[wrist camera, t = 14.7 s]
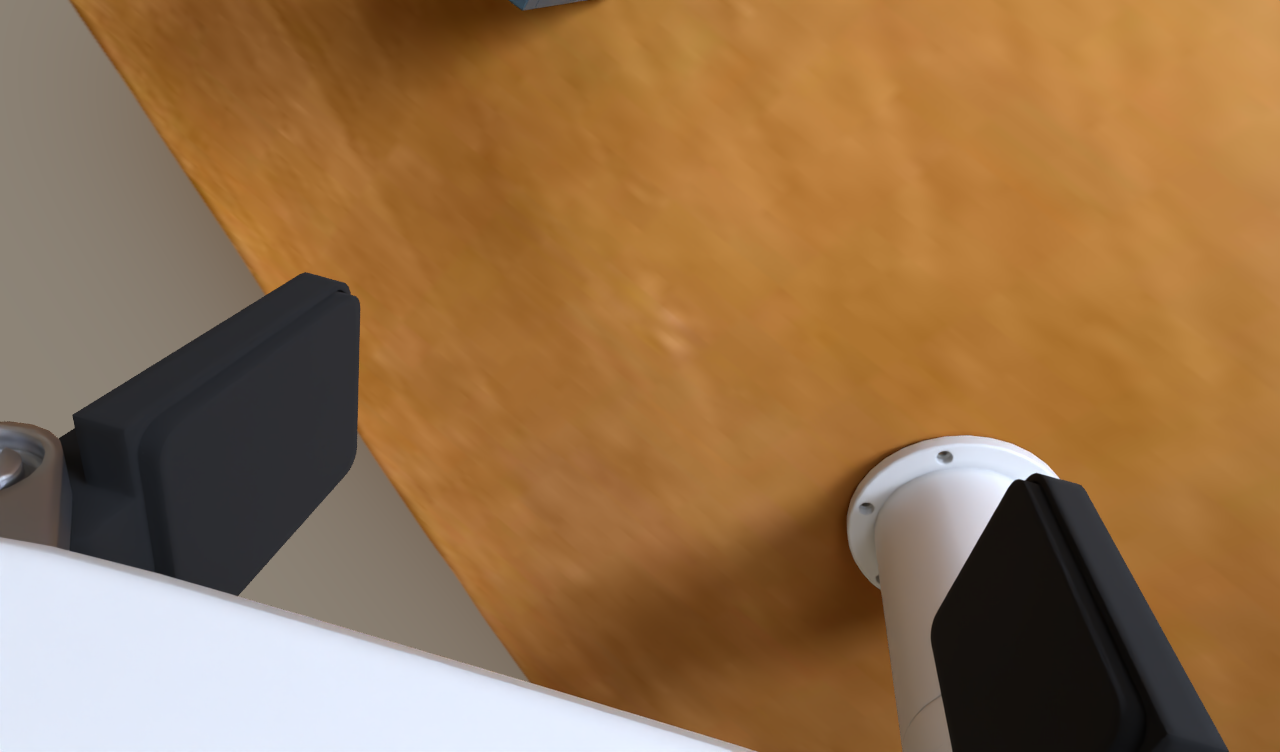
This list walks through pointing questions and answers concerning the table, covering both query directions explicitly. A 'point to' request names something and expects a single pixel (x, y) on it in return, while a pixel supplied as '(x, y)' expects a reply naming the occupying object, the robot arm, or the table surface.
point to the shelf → (539, 3)
